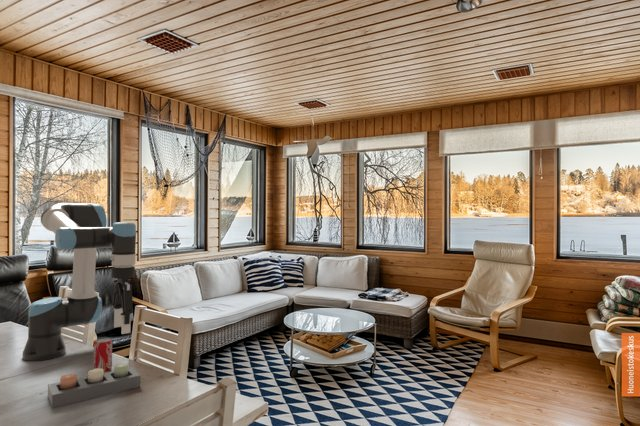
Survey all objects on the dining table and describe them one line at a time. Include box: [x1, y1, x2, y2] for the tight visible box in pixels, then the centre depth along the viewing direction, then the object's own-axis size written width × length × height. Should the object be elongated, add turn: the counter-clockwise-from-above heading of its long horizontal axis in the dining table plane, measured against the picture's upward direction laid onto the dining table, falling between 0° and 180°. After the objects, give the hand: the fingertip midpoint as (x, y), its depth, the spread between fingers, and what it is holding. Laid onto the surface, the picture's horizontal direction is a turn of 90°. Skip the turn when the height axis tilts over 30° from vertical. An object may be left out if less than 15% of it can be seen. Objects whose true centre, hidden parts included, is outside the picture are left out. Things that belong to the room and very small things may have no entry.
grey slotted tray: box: [47, 366, 141, 409], centre depth 139 cm, size 10×26×4 cm, turn 130°
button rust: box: [59, 373, 78, 389], centre depth 134 cm, size 5×5×3 cm
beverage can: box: [92, 337, 113, 373], centre depth 157 cm, size 6×6×12 cm
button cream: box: [87, 368, 104, 383], centre depth 139 cm, size 5×5×3 cm
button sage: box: [113, 362, 130, 377], centre depth 144 cm, size 5×5×3 cm
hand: (121, 329), depth 144 cm, fingers open, 9 cm apart
